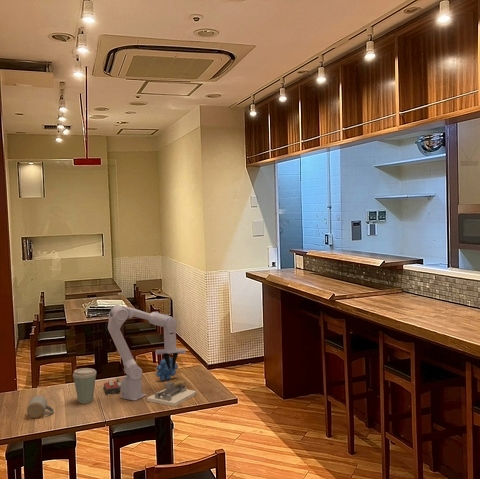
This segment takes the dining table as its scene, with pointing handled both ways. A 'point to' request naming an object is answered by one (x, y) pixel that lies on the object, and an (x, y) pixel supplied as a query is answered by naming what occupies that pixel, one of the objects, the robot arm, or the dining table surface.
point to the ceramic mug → (38, 407)
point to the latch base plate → (172, 396)
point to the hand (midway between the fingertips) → (171, 368)
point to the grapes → (165, 370)
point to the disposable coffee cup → (84, 384)
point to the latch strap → (171, 390)
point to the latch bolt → (180, 382)
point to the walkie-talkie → (112, 387)
